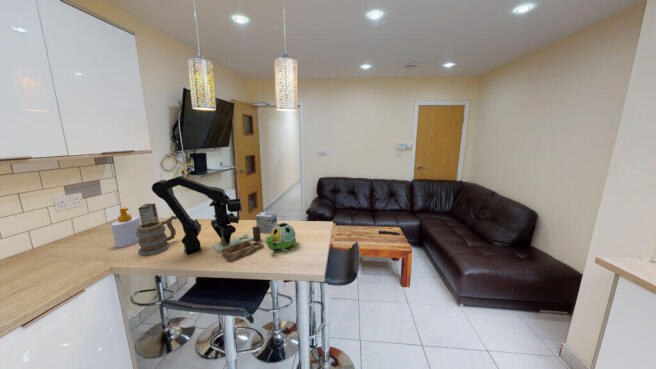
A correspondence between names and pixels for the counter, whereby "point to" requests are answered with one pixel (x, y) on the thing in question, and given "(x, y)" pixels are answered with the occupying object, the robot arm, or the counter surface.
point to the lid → (232, 242)
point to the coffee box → (148, 213)
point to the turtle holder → (281, 237)
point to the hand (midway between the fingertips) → (224, 241)
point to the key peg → (256, 234)
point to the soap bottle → (125, 229)
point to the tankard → (154, 236)
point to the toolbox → (240, 250)
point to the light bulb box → (266, 221)
